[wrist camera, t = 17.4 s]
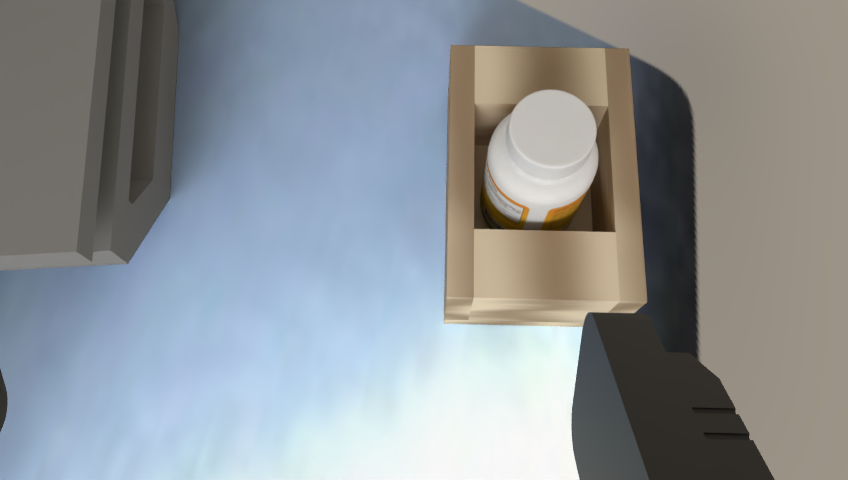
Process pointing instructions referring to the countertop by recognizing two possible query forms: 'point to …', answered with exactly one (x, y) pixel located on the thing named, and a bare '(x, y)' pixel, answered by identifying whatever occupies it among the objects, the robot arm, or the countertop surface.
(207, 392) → the countertop surface
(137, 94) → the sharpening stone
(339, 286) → the countertop surface
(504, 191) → the supplement bottle
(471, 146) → the post socket
